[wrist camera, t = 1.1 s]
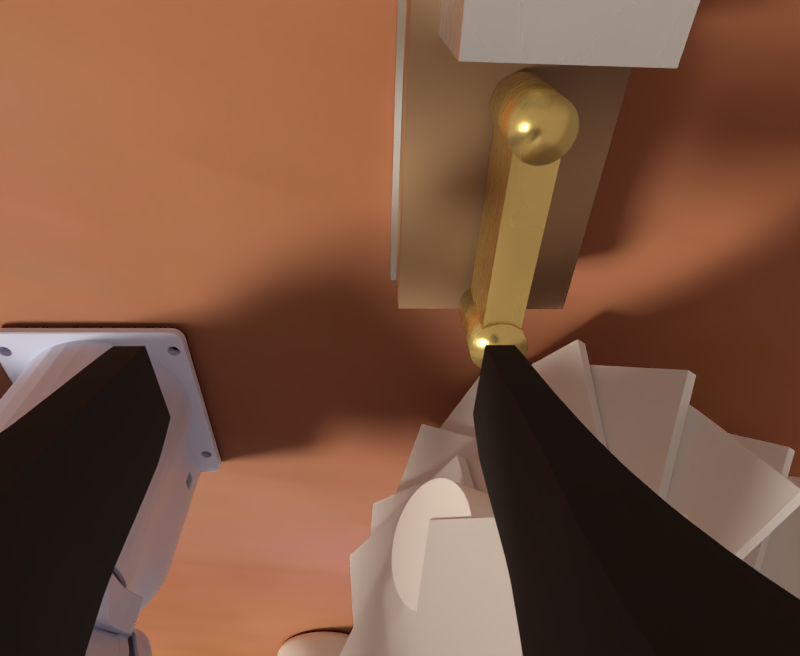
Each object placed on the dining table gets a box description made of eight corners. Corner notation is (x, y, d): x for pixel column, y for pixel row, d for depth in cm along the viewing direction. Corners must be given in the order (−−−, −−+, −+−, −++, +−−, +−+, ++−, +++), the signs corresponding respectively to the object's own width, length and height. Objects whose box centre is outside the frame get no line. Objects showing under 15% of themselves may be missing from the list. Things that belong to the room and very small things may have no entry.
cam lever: (505, 324, 18) (522, 371, 16) (456, 324, 18) (467, 371, 16) (557, 72, 13) (591, 95, 11) (490, 69, 13) (511, 92, 11)
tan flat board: (543, 272, 21) (566, 315, 18) (390, 271, 20) (392, 315, 18) (690, -322, 11) (776, -395, 9) (407, -346, 11) (417, -426, 8)
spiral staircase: (624, 492, 38) (348, 367, 27) (950, 469, 25) (664, 204, 14) (638, 811, 29) (233, 813, 18) (1163, 1043, 16) (823, 1578, 5)
